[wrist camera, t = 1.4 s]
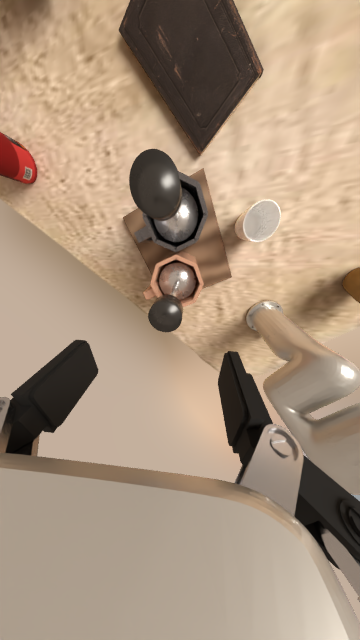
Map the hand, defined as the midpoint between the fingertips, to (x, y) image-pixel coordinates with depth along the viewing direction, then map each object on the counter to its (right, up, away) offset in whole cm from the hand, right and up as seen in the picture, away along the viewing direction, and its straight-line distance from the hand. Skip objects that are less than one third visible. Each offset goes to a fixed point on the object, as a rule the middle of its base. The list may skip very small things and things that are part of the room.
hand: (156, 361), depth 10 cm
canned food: (-40, +44, +28) cm, 66 cm away
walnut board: (+2, +25, +35) cm, 43 cm away
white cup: (+21, +30, +31) cm, 48 cm away
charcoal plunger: (+1, +24, +19) cm, 30 cm away
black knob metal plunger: (+1, +12, +25) cm, 28 cm away
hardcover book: (+4, +55, +19) cm, 58 cm away
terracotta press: (+1, +18, +37) cm, 41 cm away
